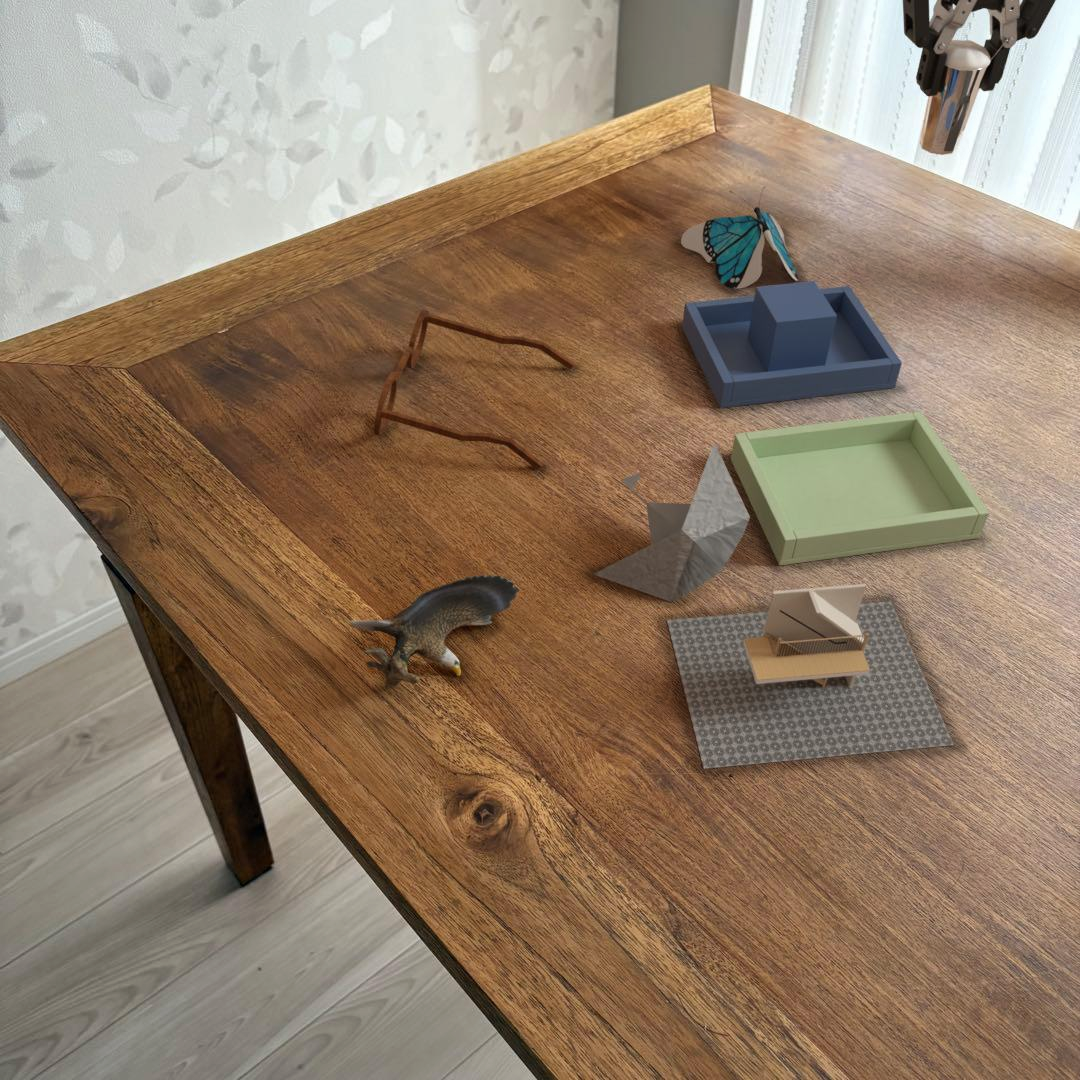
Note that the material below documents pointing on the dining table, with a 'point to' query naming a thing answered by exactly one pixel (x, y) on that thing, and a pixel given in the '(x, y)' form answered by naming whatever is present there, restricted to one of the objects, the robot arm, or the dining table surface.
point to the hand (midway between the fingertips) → (956, 89)
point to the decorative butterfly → (738, 246)
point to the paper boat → (685, 537)
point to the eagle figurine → (437, 623)
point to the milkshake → (954, 96)
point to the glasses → (411, 362)
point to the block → (791, 326)
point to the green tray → (855, 487)
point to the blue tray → (743, 380)
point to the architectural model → (804, 680)
